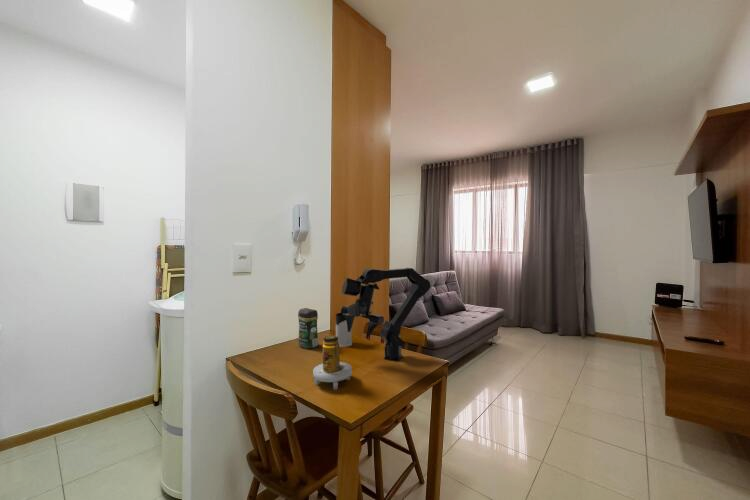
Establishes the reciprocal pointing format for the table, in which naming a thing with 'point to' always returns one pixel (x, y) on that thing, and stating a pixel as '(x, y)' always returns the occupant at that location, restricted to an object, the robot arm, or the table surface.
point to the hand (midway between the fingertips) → (357, 335)
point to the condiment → (331, 355)
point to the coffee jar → (308, 328)
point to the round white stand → (332, 375)
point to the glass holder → (342, 331)
